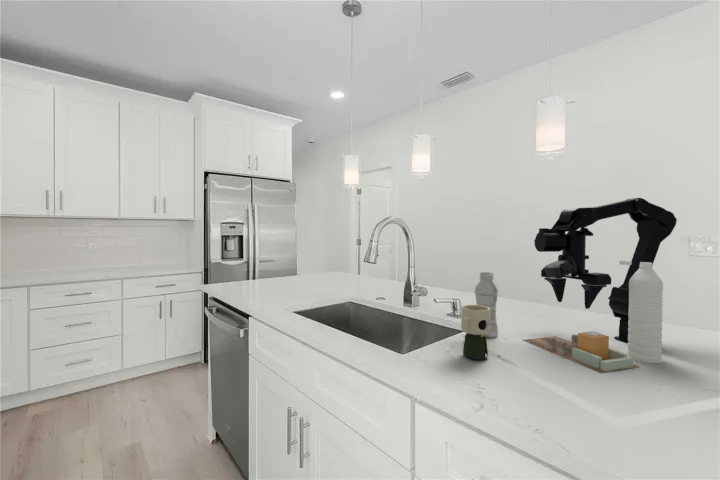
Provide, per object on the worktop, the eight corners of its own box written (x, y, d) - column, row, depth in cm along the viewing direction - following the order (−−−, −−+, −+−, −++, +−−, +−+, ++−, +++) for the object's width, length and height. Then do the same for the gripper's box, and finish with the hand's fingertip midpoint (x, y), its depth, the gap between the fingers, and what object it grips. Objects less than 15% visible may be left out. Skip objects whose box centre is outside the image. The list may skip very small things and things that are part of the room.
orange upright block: (593, 354, 87) (593, 329, 87) (608, 360, 83) (608, 334, 83) (577, 357, 86) (577, 331, 86) (592, 363, 82) (592, 336, 82)
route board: (555, 340, 103) (555, 326, 102) (640, 372, 79) (641, 354, 79) (522, 344, 99) (522, 329, 99) (600, 378, 76) (601, 359, 76)
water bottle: (665, 364, 84) (667, 262, 83) (655, 370, 81) (658, 263, 80) (623, 353, 91) (624, 259, 91) (612, 358, 88) (614, 261, 87)
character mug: (477, 366, 83) (477, 313, 83) (451, 358, 88) (451, 308, 88) (498, 355, 90) (498, 306, 90) (473, 348, 96) (473, 302, 95)
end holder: (598, 354, 88) (598, 344, 88) (633, 367, 79) (633, 356, 79) (571, 357, 85) (572, 347, 85) (604, 371, 77) (604, 360, 77)
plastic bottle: (500, 343, 100) (500, 274, 100) (475, 341, 102) (476, 274, 101) (496, 336, 107) (496, 272, 106) (473, 335, 108) (473, 271, 107)
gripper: (526, 250, 106) (526, 300, 107) (580, 254, 88) (579, 314, 89) (555, 249, 109) (555, 298, 110) (613, 253, 92) (612, 311, 92)
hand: (572, 305), depth 100 cm, fingers open, 9 cm apart
